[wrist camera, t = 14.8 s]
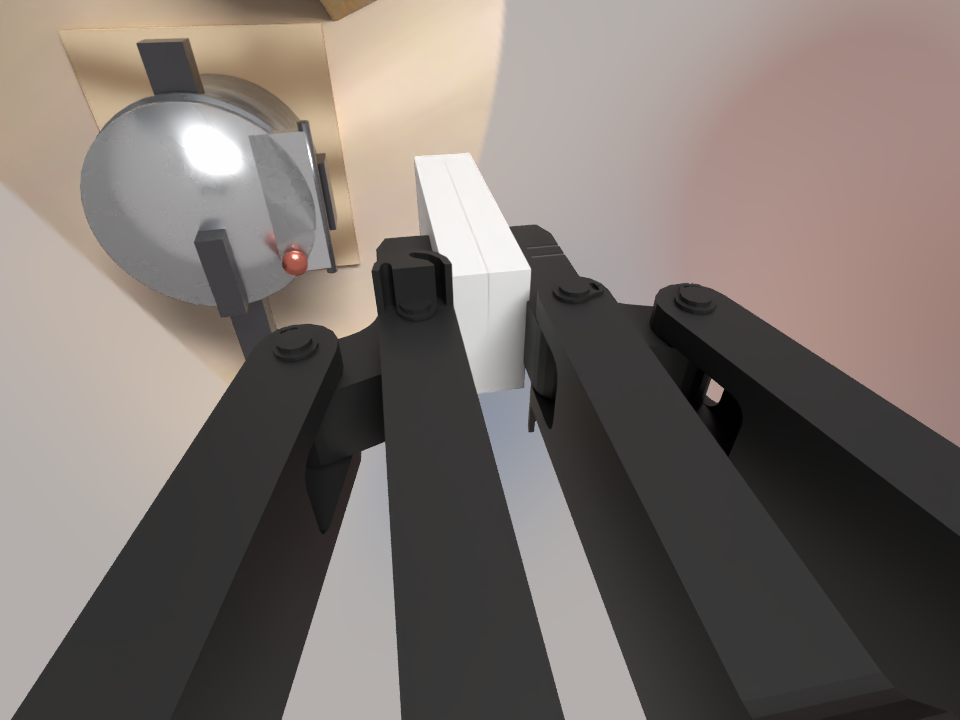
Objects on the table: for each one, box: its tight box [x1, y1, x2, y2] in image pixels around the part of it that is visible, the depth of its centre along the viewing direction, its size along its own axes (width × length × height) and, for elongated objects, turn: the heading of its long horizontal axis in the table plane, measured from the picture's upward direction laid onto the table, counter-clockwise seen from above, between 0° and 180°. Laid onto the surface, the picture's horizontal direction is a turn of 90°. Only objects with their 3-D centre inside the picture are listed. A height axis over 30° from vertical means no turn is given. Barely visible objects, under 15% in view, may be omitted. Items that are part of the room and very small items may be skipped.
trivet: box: [58, 23, 360, 266], centre depth 45 cm, size 20×18×1 cm
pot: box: [97, 38, 337, 360], centre depth 42 cm, size 24×16×9 cm, turn 1°
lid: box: [80, 100, 337, 317], centre depth 36 cm, size 14×15×3 cm
